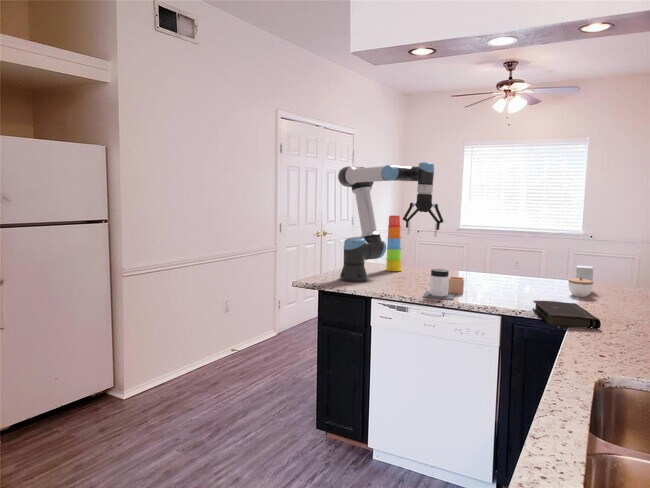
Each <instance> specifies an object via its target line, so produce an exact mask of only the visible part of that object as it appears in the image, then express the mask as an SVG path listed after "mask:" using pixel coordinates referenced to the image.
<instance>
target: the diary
mask: <svg viewBox="0 0 650 488" xmlns="http://www.w3.org/2000/svg"><path fill="white" fill-rule="evenodd" d="M532 302H533V303H534V304H535V307H534V308H532V311H533V312H534V313H535V314H536V315H537V317H539V318H540V319H541V320H542V321H545V323H546V324H547V325H548V327H555V328H556V327H557V328H579V327H589V326H590V327H593V328H595V327H597V328H599V329H600V328H601V323H602V322H601V320H600V319H599V318H598V317H596V315H593V314H591V313H590V312H589V311H588V310H586V309H584V307H583V308H582V307H581V306H580V305H578V303H575V302H574V303H573V302H562V301H561V302H560V301H555V300H554V301H553V300H532ZM590 327H589V328H590ZM597 328H596V329H597Z"/></svg>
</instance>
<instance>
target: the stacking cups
mask: <svg viewBox="0 0 650 488" xmlns="http://www.w3.org/2000/svg"><path fill="white" fill-rule="evenodd" d="M401 228H402V227H401V216H400V215H389V216H388V226H387V237H386V238H387V245H386V258H385V260H386V268H385V271H387V272H402V259H403V258H402V257H401V253H402V252H401V251H402V247H401V239H402V238H401Z"/></svg>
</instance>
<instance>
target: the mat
mask: <svg viewBox="0 0 650 488" xmlns="http://www.w3.org/2000/svg"><path fill="white" fill-rule="evenodd" d="M455 296H456V293H448V296H443V297H439V296H432V295H431V294H430V290H425V292H424V294H423V295H422V298H426V299H427V298H428V299H437V300H438V299H439V300H450V301H454V298H455Z"/></svg>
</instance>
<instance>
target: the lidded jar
mask: <svg viewBox="0 0 650 488" xmlns="http://www.w3.org/2000/svg"><path fill="white" fill-rule="evenodd" d="M593 285H594V281H593V280H592V281H591V280H587V279H582V277H580V279H579V278H576V277H574V278H573V277H572V278H568V290H569V292H570V293H571V294H572V296H573V297H576V298H577V297H578V298H586V297H587V296H589V295H590V294H591V293H592V291H591V290H593Z"/></svg>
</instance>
